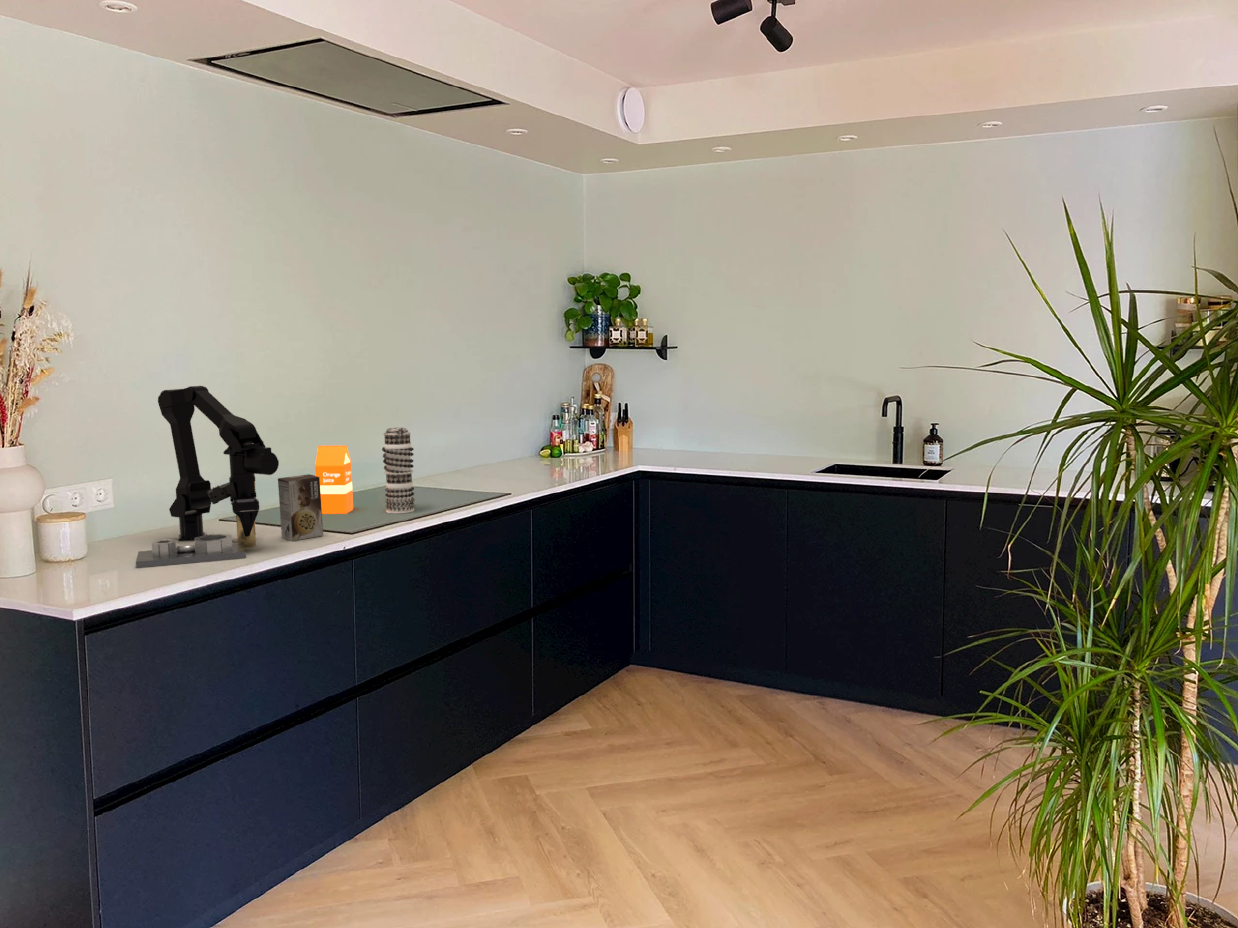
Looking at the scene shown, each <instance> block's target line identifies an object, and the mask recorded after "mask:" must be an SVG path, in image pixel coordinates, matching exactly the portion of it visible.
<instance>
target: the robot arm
mask: <svg viewBox="0 0 1238 928" xmlns="http://www.w3.org/2000/svg"><path fill="white" fill-rule="evenodd" d="M157 403H158V407H159V409H160V414H161V416H163V419H165V420H166V421H167V423H168V424H169V426H170V430H171V435H172V436H171V437H172V442H173V447H174V452H175V457H176V463H177V464H176V465H177V469H178V474H179V480H178V483H177V486H176V488H175V497H176V498H175V499H174V501H173V502H172V504H171V506H170V507H169V514H170V516H171V518H178V521H179V534H178V541H188V540H195V538H196V537H200V536H204V535H206V532H204V522H203V514H209V513H210V511H211V506H212V505H216V504H218V503H219V502H221V501H224V500H225V499H229V501H230V505H231V508H232V509H231V510H232V513H233V514H234V515H237V516H239V517H240V520H241V524H242V528H243V531H244V535H245V537H248V536H250V533H251V530H252V528H253V525H254V522H255V523H256V520H257V516H258V514H259V511H260V501H259V499H258V498H257V492H256V491H257V490H256V476H255V475H265V476H266V475H267V476H272V475H274V474H275V473H276V472H277V471H278V469H279V464H280V463H279V462H280V461H279V459H278V457H277V455H276V453H274V452H272V447H270V446H269V447H266V445H265V443H264V440H263V439H262V438H261V436H260V434H259V433H258V431H257V428H256V426H255V425H254V424H253V423H252V422H251V421H249V420H247V419H245V418H243V417H240V416H237V415H235V414H233V412H231V411H230V410H229V409H228V408H226V406H224V404H223V403H222V402H221V401H219V400H218V399H217V398H216V397H215V396H213V394H212V393H210V392H209V389H208V388H207V387H206V386H204V385H195V386H194V385H193V386H188V387H185V388H177V389H176V388H174V389H164V390H161V392H160V394H159V395H158V397H157ZM195 409H198V410H199V411H200V412H201V413H202V414H203V415H204V416H205V417H206V418H207V419H209V420H210V422H211V423H213V424H214V425H215V426H216V427H217V429H218V433H219V436H220V438H221V439H222V440H223V442H224V443H225V444H226V445H227V446H228V447H227V448H226V449H225V450H224V451H223V452H222V453H223V455H228V456H229V469H230V476H229V478H228V479H229V482H226V483H223V484H220V485H217V486H215V487H212V486H211V484H212V483H211V482H210V480H209V479H207V480H205V479H204V477H202V476H201V475H202V474H201V470H200V466H199V460H198V456H197V451H196V446H195V439H194V438H195V437H194V434H193V428H192V423H191V421H192V419H193V416H194V414H195V412H196V411H195Z"/></svg>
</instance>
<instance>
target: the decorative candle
mask: <svg viewBox="0 0 1238 928" xmlns="http://www.w3.org/2000/svg"><path fill="white" fill-rule="evenodd" d="M383 435H384V446H383V447H382V448H381V451H382V452H383V454H382V458H384V459H383V460H382V462H383V464H385V465H384V467H383V469H384V474H385V477H386V480H385V481H386V482H385V490H384V491H385V492H386V494H384V495H385V497H386V499H385V501H384V502H385V503H386V504H385V508H386V513H387V514H397V515H398V514H407V513H413V512H415V508H414V507H415V506H416V504H415V503H414V502H415V501H416V500H415V498H414V497H413V496H414V495H415V492H413V491H414V490H415V488H414V487H413V486H414V485H413V480H412V479H413V477H412V474H413V473H414V470H413V469H412V468H414V467H415V466H414V465H413V464H412V463H414V459H412V458H411V457H413V456H414V452H412V451H414V447H412V442H411V432H410V431H409V430H408V428H406V427H388V428H386V430H385V432H384V433H383Z"/></svg>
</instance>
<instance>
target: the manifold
mask: <svg viewBox="0 0 1238 928" xmlns="http://www.w3.org/2000/svg"><path fill="white" fill-rule="evenodd" d="M246 555H247V553H246V547H244V543H243V542H242V543H238V542H233V537H232V534H226V533H225V534H224V533H216V534H214V533H213V534H205V535H204V536H200V537H196V538H195V539H194V544H189V545H187V544H186V545H178V546H177V541H176V539H169V538H167V539H160V540H158V539H157V540H154V541H152V542H151V550H139V551H138V552H137V555H136V560H135V565H136V566H135V567H136V569H140V568H152V567H162V566H173V565H174V566H176V565H184V564H185V565H186V564H197V563H206V562H217V561H226V560H239V559H247V556H246Z"/></svg>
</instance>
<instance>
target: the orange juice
mask: <svg viewBox="0 0 1238 928" xmlns="http://www.w3.org/2000/svg"><path fill="white" fill-rule="evenodd" d="M316 451H317V452H316V458H315V465H314V474H315V475H314V476H318V477H320V493H321V508H322V515H339V514H341V515H343V514H344V515H345V514H346V515H347V514H348V513H350V512H352V511H354V497H353V475H352V460H351V457H350V453H349V449H348V446H347V445H318V446H317V450H316Z"/></svg>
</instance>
